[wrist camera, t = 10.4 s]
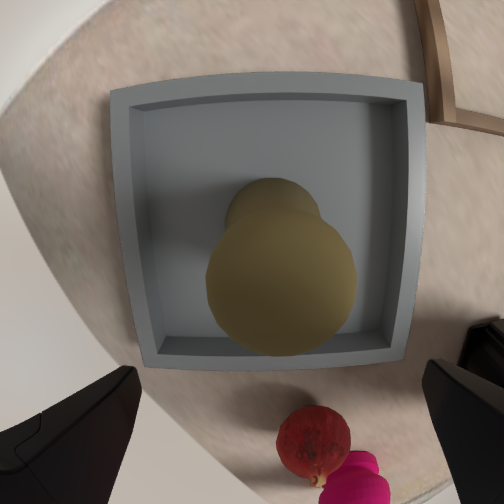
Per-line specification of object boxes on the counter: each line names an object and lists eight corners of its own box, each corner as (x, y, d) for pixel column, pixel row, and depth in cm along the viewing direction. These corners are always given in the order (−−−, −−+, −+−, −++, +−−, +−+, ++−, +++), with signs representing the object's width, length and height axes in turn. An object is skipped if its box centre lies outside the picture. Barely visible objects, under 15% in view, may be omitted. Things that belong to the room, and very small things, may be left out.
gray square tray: (389, 338, 23) (402, 360, 20) (156, 344, 24) (144, 367, 21) (403, 91, 18) (422, 83, 15) (129, 98, 18) (109, 90, 16)
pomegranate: (269, 392, 25) (270, 470, 17) (339, 379, 24) (360, 453, 16) (281, 436, 26) (284, 506, 18) (343, 424, 26) (360, 492, 18)
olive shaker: (209, 248, 21) (158, 341, 10) (249, 160, 19) (232, 164, 8) (294, 286, 21) (319, 403, 11) (338, 204, 19) (416, 259, 9)
